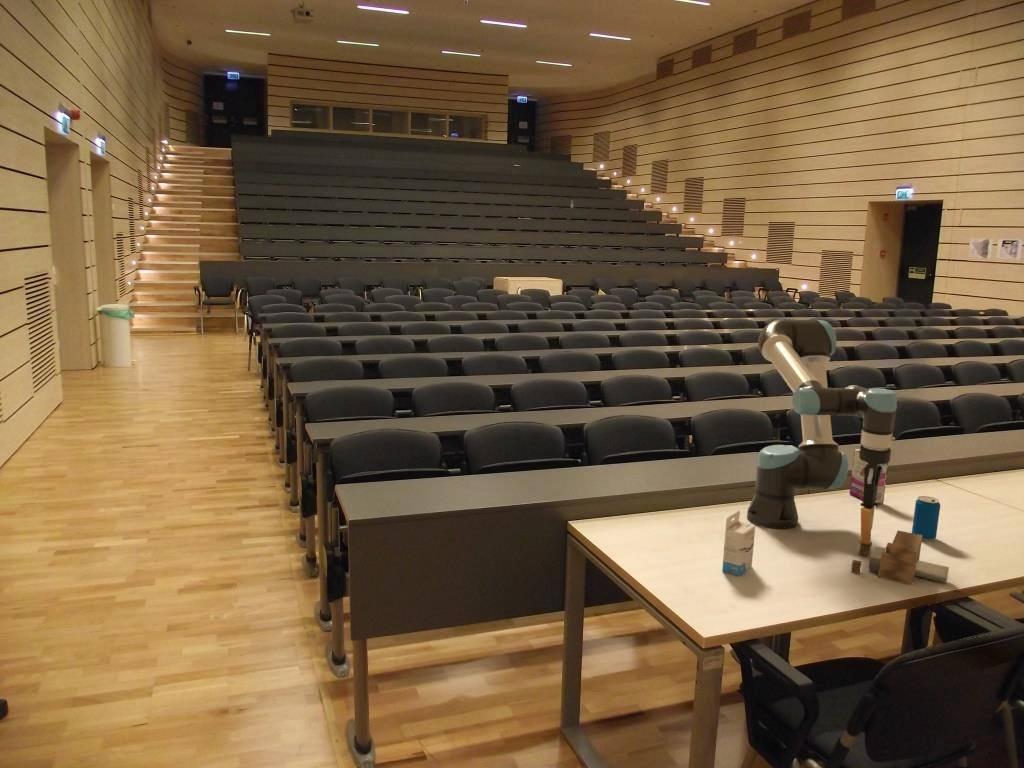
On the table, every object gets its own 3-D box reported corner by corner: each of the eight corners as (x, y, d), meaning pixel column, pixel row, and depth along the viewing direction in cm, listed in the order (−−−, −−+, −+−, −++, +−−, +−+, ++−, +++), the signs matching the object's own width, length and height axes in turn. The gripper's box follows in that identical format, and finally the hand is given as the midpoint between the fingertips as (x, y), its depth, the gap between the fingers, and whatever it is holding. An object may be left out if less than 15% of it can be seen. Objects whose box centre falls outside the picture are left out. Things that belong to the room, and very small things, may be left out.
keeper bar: (859, 509, 208) (860, 507, 209) (859, 543, 217) (860, 541, 218) (871, 512, 207) (872, 509, 207) (871, 546, 216) (872, 543, 216)
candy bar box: (884, 504, 261) (890, 456, 258) (872, 505, 259) (877, 457, 256) (860, 493, 271) (865, 448, 268) (848, 494, 270) (853, 448, 267)
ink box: (739, 577, 201) (744, 522, 198) (721, 571, 204) (725, 518, 201) (752, 566, 207) (757, 514, 205) (734, 561, 210) (739, 509, 208)
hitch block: (850, 571, 206) (854, 539, 204) (860, 552, 219) (864, 522, 217) (912, 586, 198) (916, 553, 196) (918, 565, 211) (922, 533, 210)
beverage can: (938, 542, 228) (944, 503, 225) (915, 540, 229) (920, 501, 227) (931, 534, 234) (936, 496, 232) (908, 532, 235) (913, 494, 233)
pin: (868, 570, 206) (870, 556, 206) (873, 559, 214) (875, 545, 213) (945, 588, 197) (947, 573, 196) (947, 576, 204) (949, 561, 204)
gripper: (888, 455, 201) (878, 539, 207) (894, 442, 211) (884, 523, 217) (856, 450, 205) (847, 533, 211) (864, 438, 215) (855, 517, 221)
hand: (866, 528), depth 214 cm, fingers closed
